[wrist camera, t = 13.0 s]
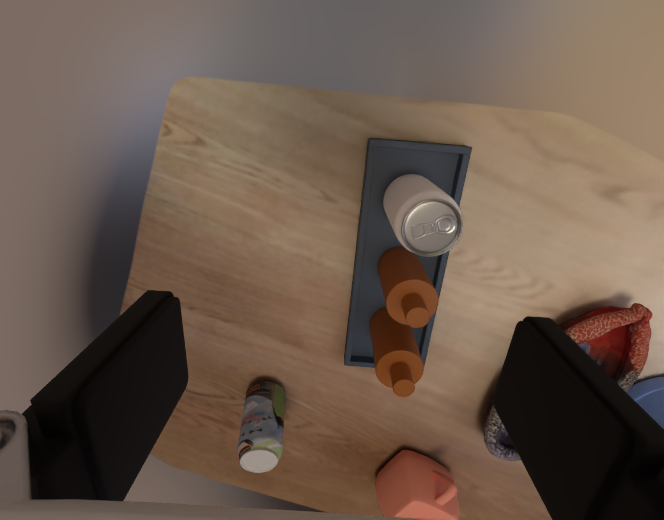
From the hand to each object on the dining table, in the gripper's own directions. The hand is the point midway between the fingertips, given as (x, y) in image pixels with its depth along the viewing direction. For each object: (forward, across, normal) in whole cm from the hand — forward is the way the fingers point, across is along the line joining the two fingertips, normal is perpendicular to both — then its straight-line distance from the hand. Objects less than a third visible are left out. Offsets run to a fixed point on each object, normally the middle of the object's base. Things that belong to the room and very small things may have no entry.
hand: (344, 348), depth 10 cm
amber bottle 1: (+35, -9, +12) cm, 38 cm away
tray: (+36, -9, +12) cm, 39 cm away
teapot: (+36, -16, +52) cm, 65 cm away
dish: (+36, -34, +29) cm, 57 cm away
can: (+35, -9, +3) cm, 37 cm away
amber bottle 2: (+35, -9, +21) cm, 42 cm away
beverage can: (+36, +9, +36) cm, 52 cm away
